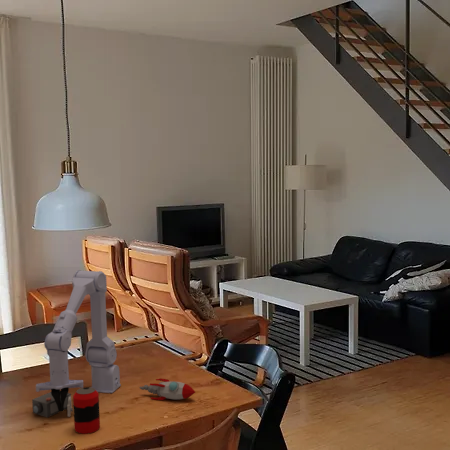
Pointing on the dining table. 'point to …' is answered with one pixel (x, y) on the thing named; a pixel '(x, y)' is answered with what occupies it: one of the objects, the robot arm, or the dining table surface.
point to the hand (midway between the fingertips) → (61, 410)
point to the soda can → (86, 410)
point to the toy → (169, 390)
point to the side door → (69, 406)
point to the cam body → (47, 405)
